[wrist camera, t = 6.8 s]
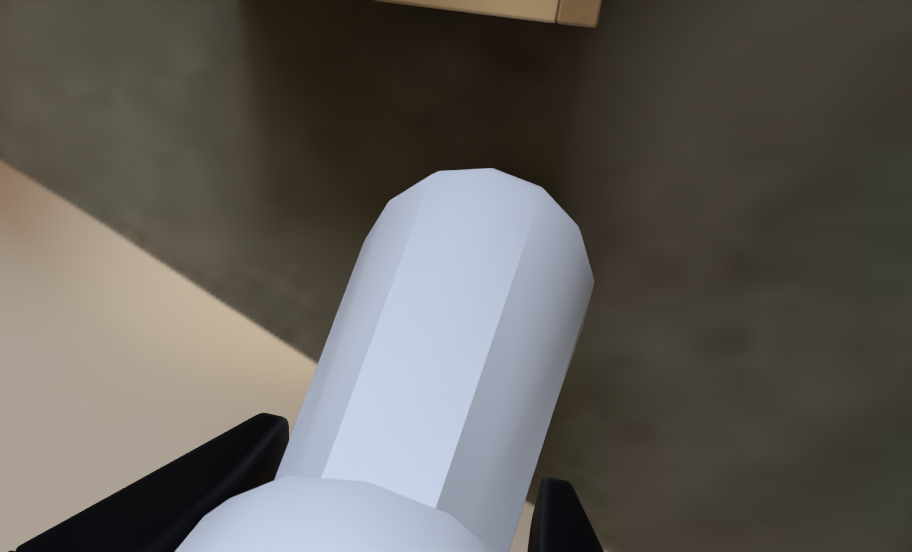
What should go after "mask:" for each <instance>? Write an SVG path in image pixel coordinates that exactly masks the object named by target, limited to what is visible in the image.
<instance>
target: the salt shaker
mask: <svg viewBox="0 0 912 552" xmlns="http://www.w3.org/2000/svg"><path fill="white" fill-rule="evenodd" d="M594 283H595V282H594V278H593V275H592V271H591V268H590V264H589V260H588V257H587V253H586V250H585V246H584V243H583V239H582V236H581V232H580V230H579V227H578V225H577V224H576V223H575V222H574V221H573V220H572V219H571V218H570V217H569V216H568V215H567V213H566V212H565V211H564V210H563V209H562V208H561V207H560V206H559V205H558V204H557V203H556V202H555V200H554V199H553V198H552V197H551V196H550V195H549V194H548V193H547V192H546V191H545V190H544V189H543V188H542V187H540V186H538V185H535V184H532V183H530V182H527V181H525V180H522V179H519V178H517V177H514V176H512V175H509V174H507V173H504V172H501V171H499V170H496V169H494V168H483V169H465V170H446V171H438V172H436V173H434V174H432V175H430V176H428V177H427V178H425V179H424V180H422V181H420V182H419V183H417V184H415V185H414V186H412V187H411V188H409V189H407V190H406V191H404V192H403V193H401V194H399V195H398V196H396V197H394V198H393V199H391V200H390V201H389V202H388V204H387V205H386V207H385V208H384V210H383V212H382V213H381V215H380V216H379V218H378V220H377V221H376V223H375V224H374V226H373V228H372V229H371V231H370V233H369V234H368V236H367V237H366V239H365V241H364V243H363V246H362V248H361V251H360V254H359V256H358V259H357V262H356V264H355V267H354V270H353V272H352V275H351V278H350V280H349V283H348V286H347V288H346V291H345V293H344V296H343V299H342V301H341V304H340V307H339V309H338V312H337V315H336V317H335V320H334V323H333V325H332V328H331V331H330V333H329V336H328V339H327V341H326V344H325V347H324V349H323V352H322V355H321V357H320V360H319V363H318V365H317V368H316V371H315V373H314V376H313V379H312V381H311V384H310V387H309V389H308V392H307V395H306V397H305V400H304V403H303V405H302V408H301V411H300V413H299V416H298V418H297V421H296V424H295V427H294V429H293V432H292V434H291V437H290V440H289V442H288V445H287V448H286V450H285V453H284V456H283V458H282V461H281V464H280V466H279V469H278V472H277V474H276V477H275V480H274V481H272V482H269V483H267V484H264V485H262V486H259V487H257V488H254V489H252V490H249V491H247V492H244V493H242V494H239V495H237V496H234V497H232V498H229V499H228V500H226V501H225V502H224V503H222V504H221V505H219V506H218V507H217V508H215V509H214V510H212V511H211V512H209V513H208V514H207V515H205V516H204V517H203V518H202V519H201V520H200V522H199V523H198V524H197V525H196V527H195V528H194V529H193V530H192V531H191V533H190V534H189V535H188V536H187V537H186V539H185V540H184V541H183V542H182V543H181V545H180V546H179V547H178V548H177V550H176V551H175V552H509V549H510V546H511V543H512V540H513V537H514V533H515V530H516V527H517V524H518V521H519V517H520V515H521V511H522V508H523V505H524V502H525V499H526V496H527V493H528V489H529V486H530V483H531V480H532V477H533V474H534V471H535V468H536V464H537V461H538V458H539V455H540V452H541V449H542V446H543V442H544V439H545V436H546V433H547V430H548V427H549V424H550V420H551V417H552V414H553V411H554V408H555V405H556V402H557V399H558V396H559V393H560V390H561V388H562V385H563V382H564V379H565V377H566V374H567V371H568V368H569V366H570V363H571V360H572V357H573V354H574V352H575V349H576V346H577V343H578V341H579V338H580V335H581V332H582V330H583V326H584V322H585V318H586V314H587V310H588V306H589V302H590V298H591V294H592V291H593V287H594Z"/></svg>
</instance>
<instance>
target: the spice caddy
mask: <svg viewBox="0 0 912 552" xmlns="http://www.w3.org/2000/svg"><path fill="white" fill-rule="evenodd" d="M372 1H380V2H388V3H396V4H404V5H412V6H420V7H427V8H435V9H443V10H451V11H459V12H467V13H475V14H483V15H491V16H499V17H507V18H515V19H523V20H531V21H539V22H547V23H554V22H556V21H557V23H558V24H563V25H570V26H578V27H586V28H595V27H596V26H597V23H598V18H599V13H600V9H601V4H602V0H372Z"/></svg>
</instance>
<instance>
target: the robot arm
mask: <svg viewBox="0 0 912 552" xmlns="http://www.w3.org/2000/svg"><path fill="white" fill-rule="evenodd" d="M288 442H289V425H288V421H287V419H286V418H284V417H281V416H276V415H272V414H268V413H260V414H258V415H256V416H254V417H252V418H250V419H248V420H247V421H245V422H243V423H241V424H239V425H238V426H236V427H234V428H232V429H230V430H228V431H227V432H225V433H223V434H221V435H219V436H218V437H216V438H214V439H212V440H210V441H208V442H207V443H205V444H203V445H201V446H199V447H198V448H196V449H194V450H192V451H190V452H189V453H187V454H185V455H183V456H181V457H179V458H178V459H176V460H174V461H172V462H170V463H169V464H167V465H165V466H163V467H161V468H160V469H158V470H156V471H154V472H152V473H150V474H149V475H147V476H145V477H143V478H142V479H140V480H138V481H136V482H134V483H132V484H131V485H129V486H127V487H125V488H123V489H122V490H120V491H118V492H116V493H114V494H112V495H111V496H109V497H107V498H105V499H103V500H101V501H100V502H98V503H96V504H94V505H92V506H91V507H89V508H87V509H85V510H84V511H82V512H80V513H78V514H76V515H75V516H72V517H71V518H69V519H67V520H65V521H63V522H62V523H60V524H58V525H56V526H54V527H53V528H51V529H49V530H47V531H45V532H43V533H42V534H40V535H38V536H36V537H35V538H33V539H31V540H29V541H27V542H25V543H24V544H22V545H20V546H19V547H18V548H17V549H16V551H9V552H175V551H176V550H177V548H178V547H179V546H180V545H181V543H182V542H183V541H184V540H185V539H186V537H187V536H188V535H189V534H190V533H191V531H192V530H193V529H194V528H195V527H196V525H197V524H198V523H199V522H200V520H201V519H202V518H203V517H204V516H205V515H207V514H208V513H209V512H211V511H212V510H214V509H215V508H217V507H218V506H219V505H221V504H222V503H224V502H225V501H226V500H228V499H229V498H232V497H234V496H237V495H239V494H242V493H244V492H247V491H249V490H252V489H254V488H257V487H259V486H262V485H264V484H267V483H269V482H272V481H274V480H275V477H276V474H277V472H278V469H279V466H280V464H281V461H282V458H283V456H284V453H285V450H286V448H287V445H288ZM528 552H604V551H603V549H602V547H601V545H600V542H599V540H598V538H597V536H596V534H595V532H594V530H593V528H592V526H591V524H590V522H589V519H588V517H587V515H586V513H585V511H584V509H583V507H582V505H581V503H580V501H579V498H578V496H577V494H576V492H575V490H574V488H573V486H572V485H571V483H569V482H568V481H564V480H560V479H556V478H551V477H544V478H543V479H542V481H541V484H540V488H539V492H538V496H537V500H536V504H535V508H534V513H533V517H532V522H531V528H530V536H529V544H528Z"/></svg>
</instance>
